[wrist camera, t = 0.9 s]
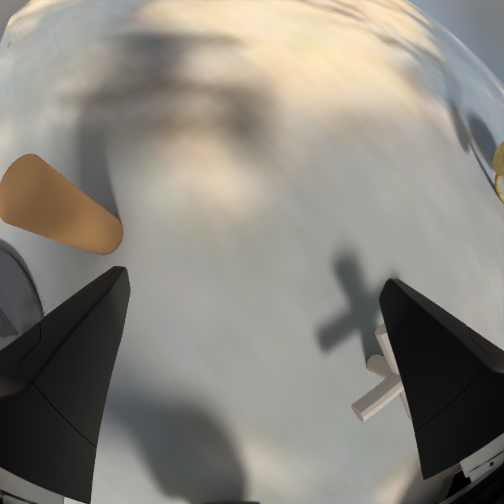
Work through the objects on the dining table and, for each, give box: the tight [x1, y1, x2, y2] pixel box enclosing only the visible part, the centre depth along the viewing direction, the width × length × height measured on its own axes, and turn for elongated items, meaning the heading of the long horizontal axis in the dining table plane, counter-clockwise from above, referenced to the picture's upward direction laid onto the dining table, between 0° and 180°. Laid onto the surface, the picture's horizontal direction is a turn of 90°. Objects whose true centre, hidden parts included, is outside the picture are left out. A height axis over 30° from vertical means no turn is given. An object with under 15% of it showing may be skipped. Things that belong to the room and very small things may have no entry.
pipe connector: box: [351, 323, 412, 422], centre depth 18 cm, size 10×10×10 cm
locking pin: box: [0, 154, 123, 255], centre depth 16 cm, size 4×4×12 cm
